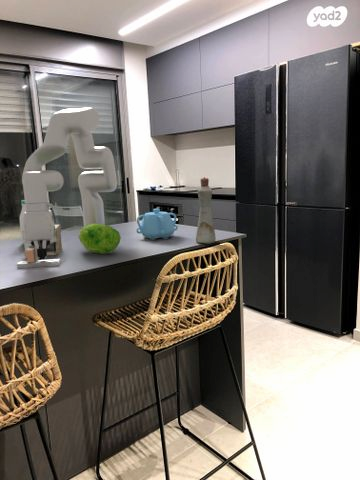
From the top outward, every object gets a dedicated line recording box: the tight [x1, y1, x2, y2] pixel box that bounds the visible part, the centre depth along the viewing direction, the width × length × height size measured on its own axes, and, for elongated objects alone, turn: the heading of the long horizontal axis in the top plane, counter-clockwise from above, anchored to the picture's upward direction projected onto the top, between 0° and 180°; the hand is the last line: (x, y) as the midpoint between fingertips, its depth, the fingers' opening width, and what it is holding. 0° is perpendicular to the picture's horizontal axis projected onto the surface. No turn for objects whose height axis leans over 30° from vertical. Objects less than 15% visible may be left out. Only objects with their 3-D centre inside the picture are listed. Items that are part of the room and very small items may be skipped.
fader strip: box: [16, 258, 61, 269], centre depth 139 cm, size 14×4×2 cm, turn 99°
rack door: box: [23, 231, 39, 260], centre depth 147 cm, size 12×2×10 cm, turn 39°
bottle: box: [195, 176, 217, 245], centre depth 166 cm, size 9×9×28 cm
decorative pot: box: [136, 208, 179, 241], centre depth 182 cm, size 16×16×14 cm
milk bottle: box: [19, 199, 26, 245], centre depth 177 cm, size 8×8×20 cm
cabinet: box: [39, 224, 63, 256], centre depth 158 cm, size 12×10×10 cm
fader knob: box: [26, 248, 36, 263], centre depth 138 cm, size 2×3×5 cm
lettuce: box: [78, 224, 122, 255], centre depth 154 cm, size 13×23×12 cm, turn 44°
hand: (42, 258), depth 139 cm, fingers closed
